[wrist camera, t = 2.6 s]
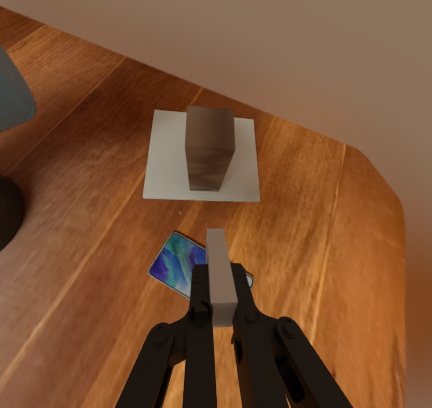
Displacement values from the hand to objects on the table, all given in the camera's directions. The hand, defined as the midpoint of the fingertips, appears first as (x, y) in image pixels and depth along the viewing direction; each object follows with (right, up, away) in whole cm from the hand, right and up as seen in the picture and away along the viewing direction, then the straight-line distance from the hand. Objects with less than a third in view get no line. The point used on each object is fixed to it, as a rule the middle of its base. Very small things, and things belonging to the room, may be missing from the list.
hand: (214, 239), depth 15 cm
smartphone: (-2, -8, +9) cm, 12 cm away
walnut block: (-2, +8, +13) cm, 15 cm away
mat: (-2, +13, +15) cm, 19 cm away
